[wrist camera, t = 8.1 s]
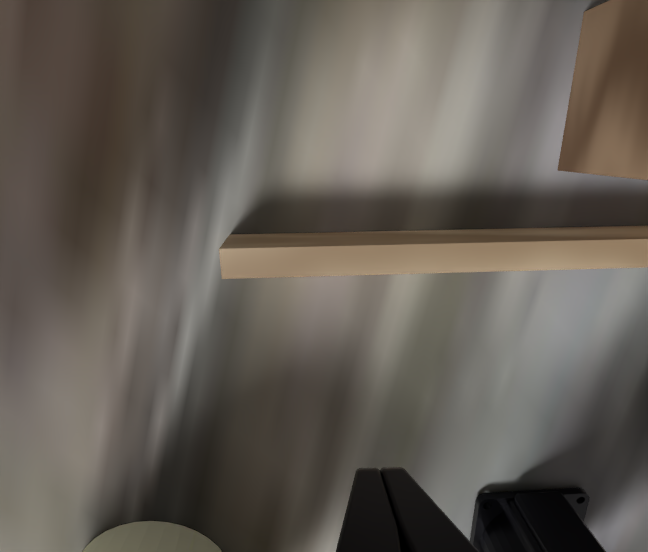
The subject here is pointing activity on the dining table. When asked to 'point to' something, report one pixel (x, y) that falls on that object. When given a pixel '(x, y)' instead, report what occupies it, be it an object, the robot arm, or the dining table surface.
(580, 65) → the cardboard box
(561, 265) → the bay
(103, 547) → the reusable coffee cup
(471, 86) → the dining table surface
